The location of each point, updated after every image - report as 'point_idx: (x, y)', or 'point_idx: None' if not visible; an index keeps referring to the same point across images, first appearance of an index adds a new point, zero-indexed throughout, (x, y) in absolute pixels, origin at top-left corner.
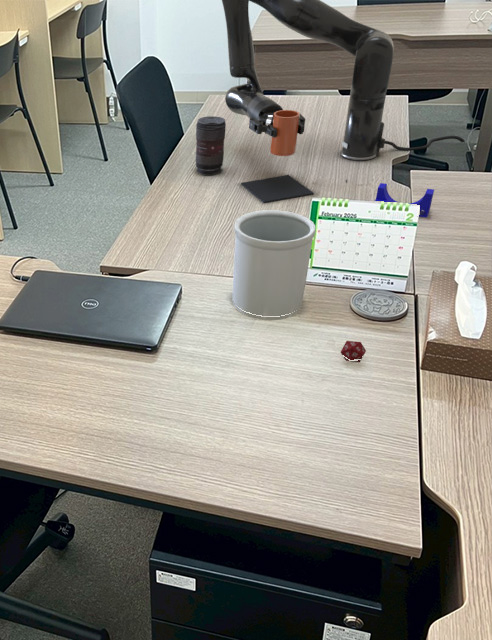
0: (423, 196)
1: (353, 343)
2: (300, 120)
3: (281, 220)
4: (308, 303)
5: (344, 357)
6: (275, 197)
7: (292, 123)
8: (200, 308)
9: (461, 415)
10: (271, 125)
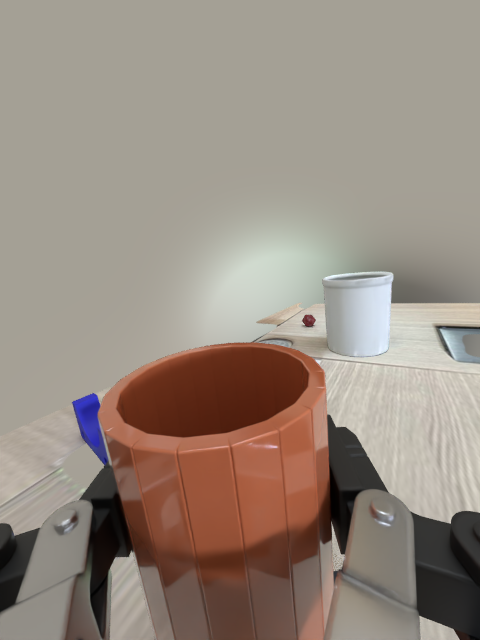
0: (81, 417)
1: (309, 315)
2: (1, 565)
3: (347, 288)
4: (321, 346)
5: (313, 323)
6: None
7: (221, 378)
8: (417, 344)
9: (276, 317)
10: (341, 477)
